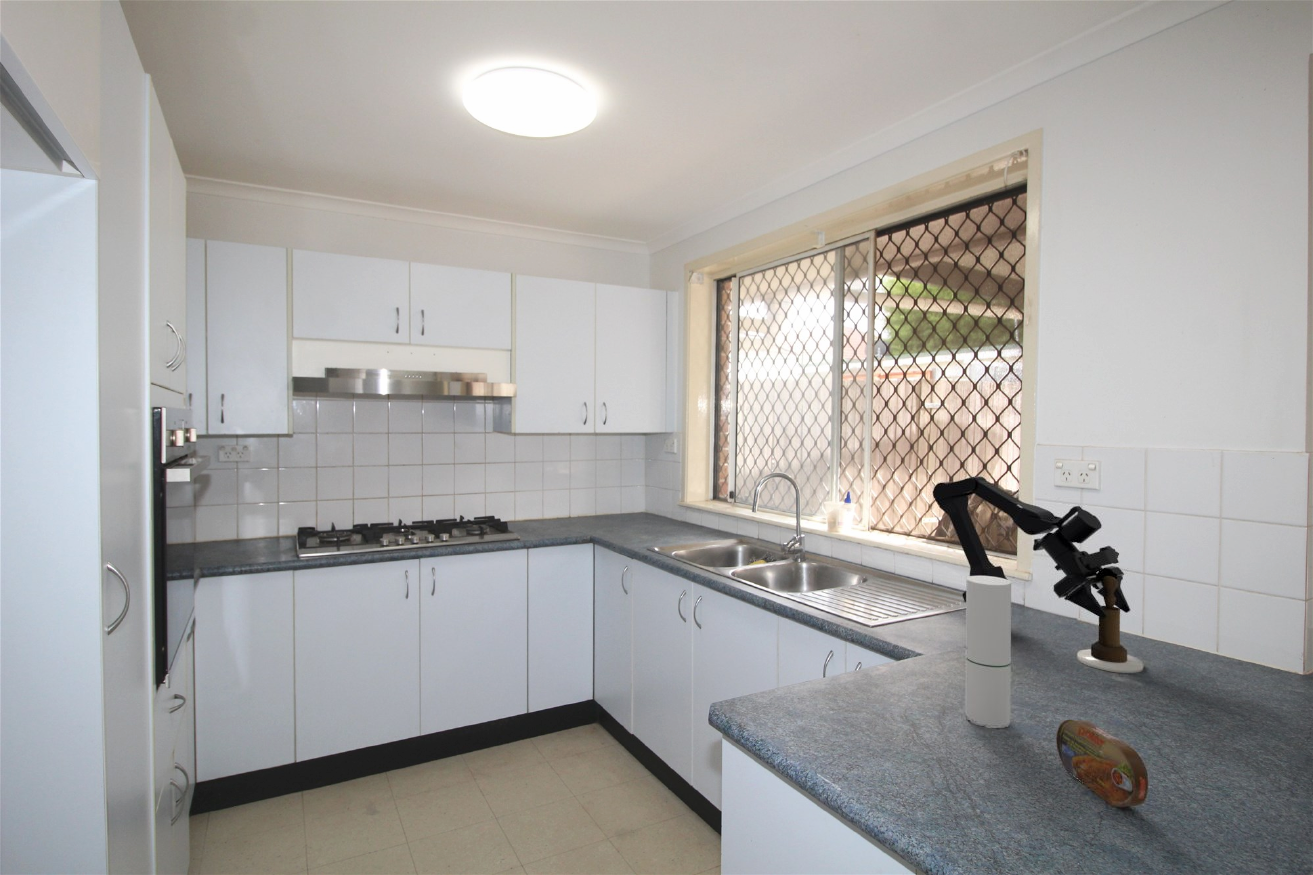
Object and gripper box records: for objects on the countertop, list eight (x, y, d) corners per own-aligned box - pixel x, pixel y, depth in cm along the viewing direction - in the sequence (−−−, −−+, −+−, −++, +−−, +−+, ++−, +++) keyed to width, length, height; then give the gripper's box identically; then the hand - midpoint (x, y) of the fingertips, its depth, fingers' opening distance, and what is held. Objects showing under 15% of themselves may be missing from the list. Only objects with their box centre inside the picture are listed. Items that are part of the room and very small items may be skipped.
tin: (1054, 763, 104) (1054, 709, 104) (1073, 762, 104) (1073, 709, 104) (1130, 820, 89) (1131, 758, 89) (1153, 819, 89) (1153, 757, 89)
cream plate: (1084, 668, 143) (1084, 663, 143) (1072, 650, 155) (1072, 646, 155) (1151, 676, 139) (1151, 671, 139) (1133, 657, 150) (1133, 653, 150)
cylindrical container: (1006, 714, 121) (1007, 577, 120) (1013, 731, 114) (1014, 586, 114) (963, 708, 123) (964, 574, 123) (967, 725, 117) (968, 583, 116)
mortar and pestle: (1125, 656, 148) (1126, 575, 148) (1128, 665, 143) (1129, 581, 142) (1089, 651, 152) (1090, 572, 151) (1091, 659, 146) (1092, 577, 146)
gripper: (1067, 538, 145) (1122, 600, 136) (1115, 531, 154) (1169, 589, 145) (1032, 567, 152) (1081, 628, 143) (1079, 559, 161) (1129, 615, 152)
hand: (1117, 614), depth 145 cm, fingers open, 9 cm apart
